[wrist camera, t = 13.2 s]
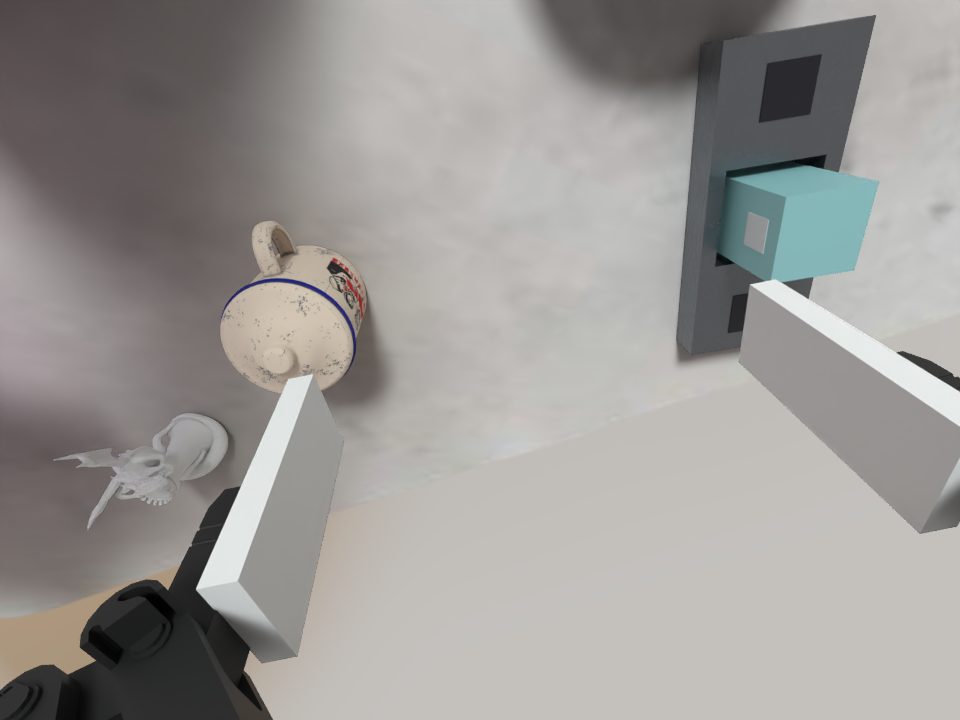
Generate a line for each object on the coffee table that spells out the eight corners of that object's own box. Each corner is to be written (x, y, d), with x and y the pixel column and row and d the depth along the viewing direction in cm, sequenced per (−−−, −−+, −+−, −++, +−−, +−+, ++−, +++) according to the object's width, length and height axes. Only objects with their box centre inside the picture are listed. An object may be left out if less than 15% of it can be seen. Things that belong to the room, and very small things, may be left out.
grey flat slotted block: (701, 43, 33) (724, 40, 30) (841, 20, 33) (877, 14, 30) (676, 339, 45) (691, 355, 43) (778, 322, 45) (799, 337, 43)
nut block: (714, 173, 38) (785, 197, 30) (789, 161, 38) (879, 181, 30) (706, 246, 41) (769, 284, 33) (775, 234, 41) (854, 270, 33)
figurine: (248, 444, 48) (197, 543, 38) (185, 469, 49) (118, 572, 39) (174, 362, 43) (91, 451, 32) (105, 392, 44) (3, 488, 33)
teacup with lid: (382, 330, 42) (365, 406, 32) (283, 348, 43) (237, 429, 33) (341, 194, 36) (305, 237, 26) (226, 215, 36) (147, 266, 26)
